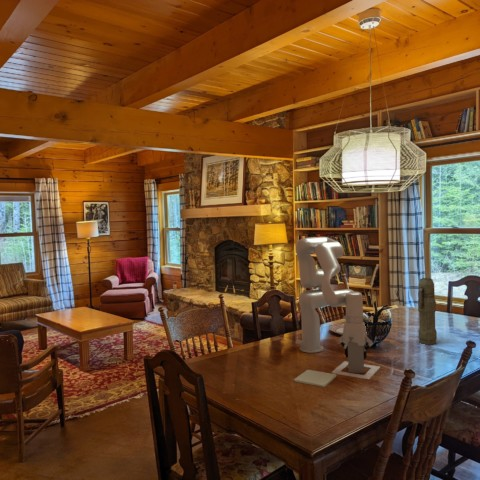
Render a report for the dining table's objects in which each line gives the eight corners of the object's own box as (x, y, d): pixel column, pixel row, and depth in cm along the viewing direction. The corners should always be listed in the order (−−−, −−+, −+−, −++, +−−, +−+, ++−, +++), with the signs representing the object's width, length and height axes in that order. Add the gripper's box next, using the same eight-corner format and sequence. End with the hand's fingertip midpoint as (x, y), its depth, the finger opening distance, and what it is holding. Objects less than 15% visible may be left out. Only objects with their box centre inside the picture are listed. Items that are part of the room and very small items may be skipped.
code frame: (331, 373, 196) (331, 372, 196) (344, 362, 210) (344, 361, 210) (368, 379, 186) (368, 378, 186) (380, 367, 200) (380, 366, 200)
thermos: (441, 342, 236) (439, 277, 234) (430, 346, 228) (429, 280, 226) (425, 339, 242) (423, 276, 241) (414, 343, 235) (412, 279, 233)
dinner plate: (327, 327, 277) (327, 322, 277) (371, 326, 275) (371, 321, 274) (332, 339, 250) (331, 333, 250) (381, 338, 247) (380, 333, 247)
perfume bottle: (364, 373, 194) (363, 333, 193) (348, 372, 196) (347, 332, 195) (363, 367, 201) (362, 329, 200) (348, 367, 202) (347, 329, 201)
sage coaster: (293, 381, 188) (293, 379, 188) (307, 371, 199) (307, 369, 199) (324, 387, 180) (324, 385, 180) (336, 376, 192) (336, 374, 192)
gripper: (333, 319, 199) (334, 357, 199) (371, 323, 189) (372, 363, 190) (339, 316, 205) (340, 353, 206) (376, 319, 195) (377, 358, 196)
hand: (355, 357), depth 198 cm, fingers closed on perfume bottle, 6 cm apart
